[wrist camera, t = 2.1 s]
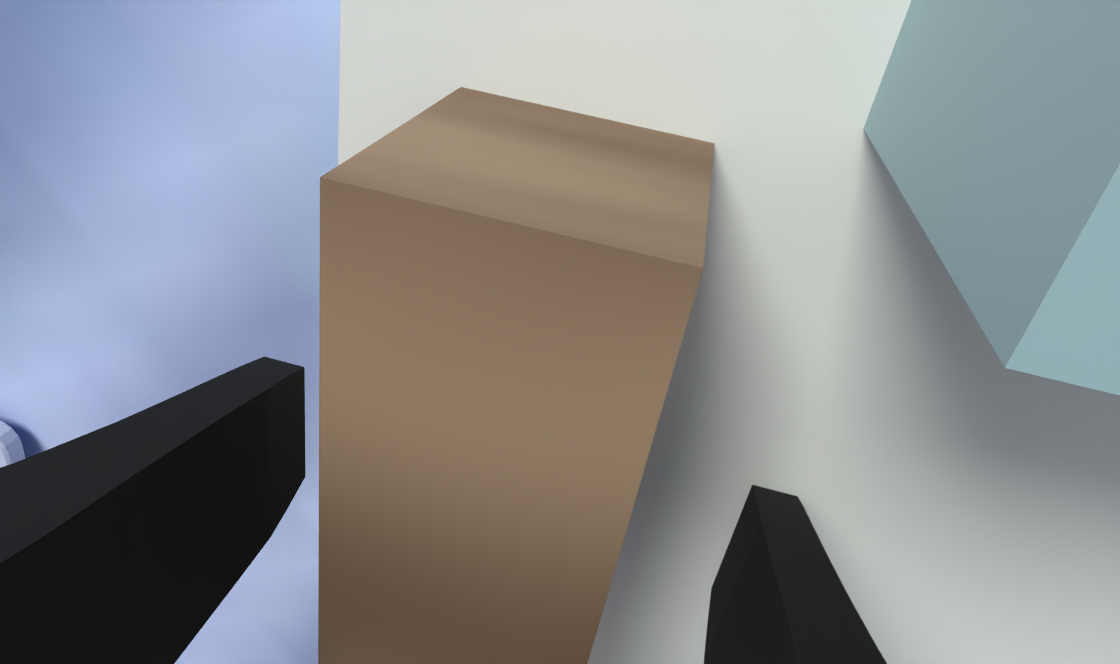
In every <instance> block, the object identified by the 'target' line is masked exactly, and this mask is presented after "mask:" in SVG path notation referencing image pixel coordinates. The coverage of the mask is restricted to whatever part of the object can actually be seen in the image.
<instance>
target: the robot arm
mask: <svg viewBox="0 0 1120 664" xmlns="http://www.w3.org/2000/svg"><path fill="white" fill-rule="evenodd" d="M304 478H305V390H304V367H302V366H298V365H294V364H290V363H286V362H282V361H279V360H275V359H271V358H267V357H262V358H260V359H257V360H255V361H252V362H250V363H247V364H245V365H243V366H240V367H238V368H236V369H234V370H231V371H229V372H227V373H225V374H222V375H220V376H218V377H216V378H214V379H211V380H209V381H207V382H205V383H203V384H200V385H198V386H196V387H194V388H192V389H190V390H187V391H185V392H183V393H181V394H179V395H176V396H174V397H172V398H170V399H167V400H165V401H163V402H161V403H158V404H156V405H154V406H152V407H149V408H147V409H145V410H143V411H141V412H138V413H136V414H134V415H132V416H129V417H127V418H125V419H123V420H120V421H118V422H116V423H113V424H111V425H108V426H106V427H103V428H101V429H98V430H96V431H93V432H91V433H88V434H86V435H83V436H81V437H78V438H76V439H74V440H71V441H69V442H66V443H64V444H61V445H59V446H56V447H54V448H51V449H49V450H46V451H44V452H41V453H39V454H36V455H34V456H31V457H29V458H25V454H24V450H23V446H22V442H21V440H20V438H19V436H18V434H17V433H16V432H15V431H14V430H13V429H12V428H11V427H10V426H9V425H7V424H6V423H5V422H3V421H0V664H174V663H175V662H176V660H177V659H178V658H179V657H180V655H181V654H182V653H183V651H184V650H185V649H186V647H187V646H188V645H189V644H190V642H191V641H192V640H193V638H194V637H195V636H196V634H197V633H198V632H199V630H200V629H201V628H202V627H203V625H204V624H205V623H206V621H207V620H208V619H209V617H210V616H211V615H212V614H213V612H214V611H215V610H216V608H217V607H218V606H219V604H220V603H221V602H222V601H223V599H224V598H225V597H226V595H227V594H228V593H229V591H230V590H231V589H232V588H233V586H234V585H235V584H236V582H237V581H238V580H239V578H240V577H241V576H242V574H243V573H244V572H245V570H246V569H247V568H248V566H249V565H250V564H251V562H252V561H253V560H254V558H255V557H256V556H257V554H258V553H259V552H260V550H261V549H262V548H263V546H264V545H265V544H266V542H267V541H268V540H269V538H270V537H271V535H272V534H273V532H274V530H275V529H276V527H277V525H278V524H279V522H280V520H281V519H282V517H283V515H284V513H285V512H286V510H287V508H288V507H289V505H290V503H291V501H292V499H293V498H294V496H295V494H296V492H297V490H298V489H299V487H300V485H301V483H302V481H303V480H304ZM704 664H887V663H886V661H885V659H884V658H883V656H882V654H881V652H880V651H879V649H878V647H877V646H876V644H875V642H874V640H873V638H872V637H871V635H870V633H869V631H868V630H867V628H866V626H865V624H864V622H863V621H862V619H861V617H860V615H859V613H858V612H857V610H856V608H855V606H854V605H853V603H852V601H851V599H850V597H849V595H848V593H847V592H846V590H845V588H844V586H843V584H842V582H841V580H840V578H839V576H838V574H837V572H836V570H835V568H834V567H833V565H832V563H831V561H830V559H829V557H828V555H827V553H826V551H825V549H824V547H823V545H822V543H821V541H820V539H819V537H818V535H817V533H816V531H815V529H814V527H813V525H812V523H811V521H810V518H809V516H808V514H807V512H806V510H805V508H804V506H803V505H802V503H801V501H800V499H799V498H798V496H794V495H790V494H787V493H783V492H779V491H775V490H771V489H768V488H764V487H760V486H756V485H752V486H751V489H750V492H749V494H748V497H747V499H746V502H745V504H744V507H743V509H742V512H741V514H740V517H739V519H738V522H737V524H736V527H735V530H734V532H733V535H732V537H731V540H730V542H729V545H728V547H727V550H726V552H725V555H724V557H723V560H722V563H721V565H720V568H719V570H718V573H717V575H716V578H715V580H714V583H713V585H712V588H711V596H710V605H709V614H708V623H707V633H706V643H705V654H704Z"/></svg>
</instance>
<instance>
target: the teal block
mask: <svg viewBox="0 0 1120 664" xmlns="http://www.w3.org/2000/svg"><path fill="white" fill-rule="evenodd" d="M863 129H864V130H865V132H866V134H867V136H868V137H869V139H870V141H871V142H872V144H873V146H874V147H875V149H876V151H877V152H878V154H879V156H880V158H881V159H882V161H883V163H884V164H885V166H886V168H887V169H888V171H889V173H890V174H891V176H892V178H893V180H894V181H895V183H896V185H897V186H898V188H899V190H900V191H901V193H902V195H903V196H904V198H905V200H906V201H907V203H908V205H909V207H910V208H911V210H912V212H913V213H914V215H915V217H916V218H917V220H918V222H919V223H920V225H921V227H922V229H923V230H924V232H925V234H926V235H927V237H928V239H929V240H930V242H931V244H932V245H933V247H934V249H935V251H936V252H937V254H938V256H939V257H940V259H941V261H942V262H943V264H944V266H945V267H946V269H947V271H948V273H949V274H950V276H951V278H952V279H953V281H954V283H955V284H956V286H957V288H958V289H959V291H960V293H961V295H962V296H963V298H964V300H965V301H966V303H967V305H968V306H969V308H970V310H971V311H972V313H973V315H974V316H975V318H976V320H977V322H978V323H979V325H980V327H981V328H982V330H983V332H984V333H985V335H986V337H987V338H988V340H989V342H990V344H991V345H992V347H993V349H994V350H995V352H996V354H997V355H998V357H999V359H1000V360H1001V362H1002V364H1003V366H1004V367H1005V368H1007V369H1012V370H1016V371H1020V372H1024V373H1028V374H1032V375H1037V376H1041V377H1045V378H1049V379H1053V380H1057V381H1061V382H1066V383H1070V384H1074V385H1078V386H1082V387H1086V388H1091V389H1095V390H1099V391H1103V392H1107V393H1111V394H1115V395H1120V0H911V3H910V5H909V8H908V11H907V13H906V16H905V19H904V21H903V24H902V27H901V29H900V32H899V35H898V37H897V40H896V43H895V45H894V48H893V51H892V53H891V56H890V59H889V61H888V64H887V67H886V69H885V72H884V75H883V77H882V80H881V83H880V86H879V88H878V91H877V94H876V96H875V99H874V102H873V104H872V107H871V110H870V112H869V115H868V118H867V120H866V123H865V126H864V128H863Z"/></svg>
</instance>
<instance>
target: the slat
mask: <svg viewBox="0 0 1120 664" xmlns="http://www.w3.org/2000/svg"><path fill="white" fill-rule="evenodd" d="M713 151H714V143H711V142H707V141H702V140H698V139H693V138H689V137H684V136H680V135H675V134H671V133H666V132H662V131H657V130H653V129H648V128H644V127H639V126H635V125H630V124H626V123H621V122H617V121H612V120H608V119H603V118H599V117H594V116H590V115H585V114H581V113H576V112H572V111H567V110H563V109H558V108H554V107H549V106H545V105H540V104H536V103H531V102H527V101H522V100H518V99H513V98H509V97H504V96H500V95H495V94H491V93H486V92H482V91H477V90H473V89H468V88H464V87H460V88H458V89H457V90H455V91H454V92H452V93H451V94H449V95H447V96H446V97H444V98H443V99H441V100H440V101H438V102H437V103H435V104H433V105H432V106H430V107H429V108H427V109H426V110H424V111H423V112H421V113H419V114H418V115H416V116H415V117H413V118H412V119H410V120H409V121H407V122H405V123H404V124H402V125H401V126H399V127H398V128H396V129H395V130H393V131H392V132H390V133H388V134H387V135H385V136H384V137H382V138H381V139H379V140H378V141H376V142H374V143H373V144H371V145H370V146H368V147H367V148H365V149H364V150H362V151H360V152H359V153H357V154H356V155H354V156H353V157H351V158H350V159H348V160H346V161H345V162H343V163H342V164H340V165H339V166H337V167H336V168H334V169H332V170H331V171H329V172H328V173H326V174H325V175H323V176H322V177H320V376H319V639H318V664H587V663H588V660H589V657H590V653H591V650H592V646H593V643H594V639H595V636H596V633H597V629H598V626H599V622H600V619H601V616H602V612H603V609H604V605H605V602H606V599H607V595H608V592H609V588H610V585H611V581H612V578H613V575H614V571H615V568H616V564H617V561H618V558H619V554H620V551H621V547H622V544H623V540H624V537H625V534H626V530H627V527H628V523H629V520H630V517H631V513H632V510H633V506H634V503H635V500H636V496H637V493H638V489H639V486H640V482H641V479H642V476H643V472H644V469H645V465H646V462H647V459H648V455H649V452H650V448H651V445H652V441H653V438H654V435H655V431H656V428H657V424H658V421H659V418H660V414H661V411H662V407H663V404H664V401H665V397H666V394H667V390H668V387H669V383H670V380H671V377H672V373H673V370H674V366H675V363H676V360H677V356H678V353H679V349H680V346H681V342H682V339H683V336H684V332H685V329H686V325H687V322H688V319H689V315H690V312H691V308H692V305H693V301H694V298H695V295H696V291H697V288H698V284H699V281H700V278H701V274H702V271H703V265H704V254H705V242H706V231H707V220H708V208H709V197H710V185H711V174H712V163H713Z"/></svg>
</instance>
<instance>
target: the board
mask: <svg viewBox="0 0 1120 664" xmlns="http://www.w3.org/2000/svg"><path fill="white" fill-rule="evenodd" d="M910 3H911V0H341V21H340V82H339V144H338V166H339V165H340V164H342V163H343V162H345V161H346V160H348V159H350V158H351V157H353V156H354V155H356V154H357V153H359V152H360V151H362V150H364V149H365V148H367V147H368V146H370V145H371V144H373V143H374V142H376V141H378V140H379V139H381V138H382V137H384V136H385V135H387V134H388V133H390V132H392V131H393V130H395V129H396V128H398V127H399V126H401V125H402V124H404V123H405V122H407V121H409V120H410V119H412V118H413V117H415V116H416V115H418V114H419V113H421V112H423V111H424V110H426V109H427V108H429V107H430V106H432V105H433V104H435V103H437V102H438V101H440V100H441V99H443V98H444V97H446V96H447V95H449V94H451V93H452V92H454V91H455V90H457V89H458V88H460V87H464V88H468V89H473V90H477V91H482V92H486V93H491V94H495V95H500V96H504V97H509V98H513V99H518V100H522V101H527V102H531V103H536V104H540V105H545V106H549V107H554V108H558V109H563V110H567V111H572V112H576V113H581V114H585V115H590V116H594V117H599V118H603V119H608V120H612V121H617V122H621V123H626V124H630V125H635V126H639V127H644V128H648V129H653V130H657V131H662V132H666V133H671V134H675V135H680V136H684V137H689V138H693V139H698V140H702V141H707V142H711V143H714V151H713V163H712V174H711V185H710V197H709V208H708V220H707V231H706V242H705V254H704V265H703V271H702V274H701V278H700V281H699V284H698V288H697V291H696V295H695V298H694V301H693V305H692V308H691V312H690V315H689V319H688V322H687V325H686V329H685V332H684V336H683V339H682V342H681V346H680V349H679V353H678V356H677V360H676V363H675V366H674V370H673V373H672V377H671V380H670V383H669V387H668V390H667V394H666V397H665V401H664V404H663V407H662V411H661V414H660V418H659V421H658V424H657V428H656V431H655V435H654V438H653V441H652V445H651V448H650V452H649V455H648V459H647V462H646V465H645V469H644V472H643V476H642V479H641V482H640V486H639V489H638V493H637V496H636V500H635V503H634V506H633V510H632V513H631V517H630V520H629V523H628V527H627V530H626V534H625V537H624V540H623V544H622V547H621V551H620V554H619V558H618V561H617V564H616V568H615V571H614V575H613V578H612V581H611V585H610V588H609V592H608V595H607V599H606V602H605V605H604V609H603V612H602V616H601V619H600V622H599V626H598V629H597V633H596V636H595V639H594V643H593V646H592V650H591V653H590V657H589V660H588V663H587V664H704V654H705V643H706V633H707V623H708V614H709V605H710V596H711V588H712V585H713V583H714V580H715V578H716V575H717V573H718V570H719V568H720V565H721V563H722V560H723V557H724V555H725V552H726V550H727V547H728V545H729V542H730V540H731V537H732V535H733V532H734V530H735V527H736V524H737V522H738V519H739V517H740V514H741V512H742V509H743V507H744V504H745V502H746V499H747V497H748V494H749V492H750V489H751V486H752V485H756V486H760V487H764V488H768V489H771V490H775V491H779V492H783V493H787V494H790V495H794V496H798V498H799V499H800V501H801V503H802V505H803V506H804V508H805V510H806V512H807V514H808V516H809V518H810V521H811V523H812V525H813V527H814V529H815V531H816V533H817V535H818V537H819V539H820V541H821V543H822V545H823V547H824V549H825V551H826V553H827V555H828V557H829V559H830V561H831V563H832V565H833V567H834V568H835V570H836V572H837V574H838V576H839V578H840V580H841V582H842V584H843V586H844V588H845V590H846V592H847V593H848V595H849V597H850V599H851V601H852V603H853V605H854V606H855V608H856V610H857V612H858V613H859V615H860V617H861V619H862V621H863V622H864V624H865V626H866V628H867V630H868V631H869V633H870V635H871V637H872V638H873V640H874V642H875V644H876V646H877V647H878V649H879V651H880V652H881V654H882V656H883V658H884V659H885V661H886V663H887V664H1120V395H1115V394H1111V393H1107V392H1103V391H1099V390H1095V389H1091V388H1086V387H1082V386H1078V385H1074V384H1070V383H1066V382H1061V381H1057V380H1053V379H1049V378H1045V377H1041V376H1037V375H1032V374H1028V373H1024V372H1020V371H1016V370H1012V369H1007V368H1005V367H1004V366H1003V364H1002V362H1001V360H1000V359H999V357H998V355H997V354H996V352H995V350H994V349H993V347H992V345H991V344H990V342H989V340H988V338H987V337H986V335H985V333H984V332H983V330H982V328H981V327H980V325H979V323H978V322H977V320H976V318H975V316H974V315H973V313H972V311H971V310H970V308H969V306H968V305H967V303H966V301H965V300H964V298H963V296H962V295H961V293H960V291H959V289H958V288H957V286H956V284H955V283H954V281H953V279H952V278H951V276H950V274H949V273H948V271H947V269H946V267H945V266H944V264H943V262H942V261H941V259H940V257H939V256H938V254H937V252H936V251H935V249H934V247H933V245H932V244H931V242H930V240H929V239H928V237H927V235H926V234H925V232H924V230H923V229H922V227H921V225H920V223H919V222H918V220H917V218H916V217H915V215H914V213H913V212H912V210H911V208H910V207H909V205H908V203H907V201H906V200H905V198H904V196H903V195H902V193H901V191H900V190H899V188H898V186H897V185H896V183H895V181H894V180H893V178H892V176H891V174H890V173H889V171H888V169H887V168H886V166H885V164H884V163H883V161H882V159H881V158H880V156H879V154H878V152H877V151H876V149H875V147H874V146H873V144H872V142H871V141H870V139H869V137H868V136H867V134H866V132H865V130H864V129H863V128H864V126H865V123H866V120H867V118H868V115H869V112H870V110H871V107H872V104H873V102H874V99H875V96H876V94H877V91H878V88H879V86H880V83H881V80H882V77H883V75H884V72H885V69H886V67H887V64H888V61H889V59H890V56H891V53H892V51H893V48H894V45H895V43H896V40H897V37H898V35H899V32H900V29H901V27H902V24H903V21H904V19H905V16H906V13H907V11H908V8H909V5H910Z"/></svg>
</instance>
